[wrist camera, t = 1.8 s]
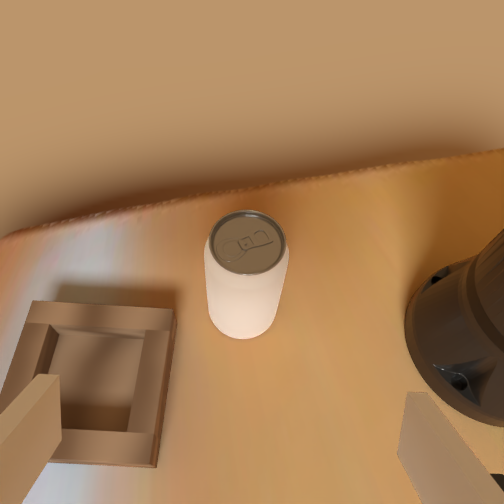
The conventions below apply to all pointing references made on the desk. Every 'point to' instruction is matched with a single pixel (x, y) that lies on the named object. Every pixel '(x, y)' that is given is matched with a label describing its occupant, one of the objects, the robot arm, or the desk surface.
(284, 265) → the can
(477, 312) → the robot arm
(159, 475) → the desk surface
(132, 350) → the holder
